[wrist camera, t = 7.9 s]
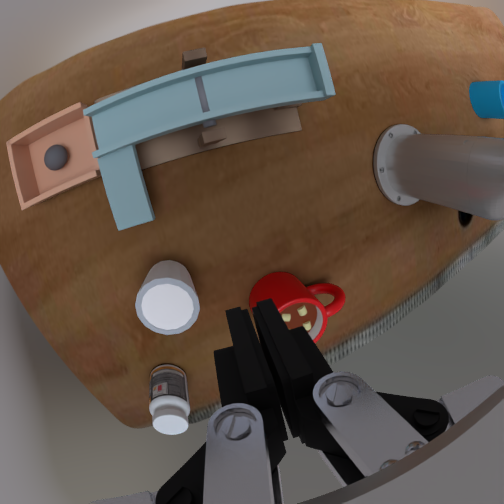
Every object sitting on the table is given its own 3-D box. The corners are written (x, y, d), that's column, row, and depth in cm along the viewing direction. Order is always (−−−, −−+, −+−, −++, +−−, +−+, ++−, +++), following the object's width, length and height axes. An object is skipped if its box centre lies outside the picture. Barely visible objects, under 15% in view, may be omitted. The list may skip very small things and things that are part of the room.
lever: (310, 50, 22) (320, 38, 18) (338, 175, 26) (352, 179, 23) (90, 109, 22) (73, 106, 19) (122, 227, 27) (108, 238, 24)
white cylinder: (134, 264, 33) (124, 289, 26) (185, 248, 34) (187, 269, 27) (154, 311, 35) (150, 342, 29) (202, 296, 36) (208, 325, 30)
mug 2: (476, 121, 39) (506, 123, 31) (464, 84, 36) (495, 82, 28) (494, 110, 40) (521, 112, 32) (484, 78, 36) (511, 77, 29)
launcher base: (281, 58, 29) (309, 34, 21) (300, 130, 32) (333, 124, 25) (95, 101, 25) (71, 85, 18) (113, 179, 29) (92, 186, 21)
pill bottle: (142, 371, 38) (139, 420, 28) (173, 357, 38) (175, 407, 29) (164, 393, 40) (165, 440, 31) (193, 380, 40) (200, 429, 31)
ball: (69, 140, 25) (55, 140, 22) (74, 163, 26) (61, 166, 24) (50, 149, 25) (37, 151, 22) (56, 172, 26) (42, 176, 24)
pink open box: (94, 109, 26) (80, 101, 21) (108, 173, 29) (96, 175, 24) (26, 142, 24) (6, 142, 20) (40, 202, 27) (21, 210, 22)
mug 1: (331, 298, 41) (359, 324, 34) (258, 330, 40) (274, 364, 33) (323, 252, 38) (353, 273, 31) (241, 284, 37) (256, 314, 30)
